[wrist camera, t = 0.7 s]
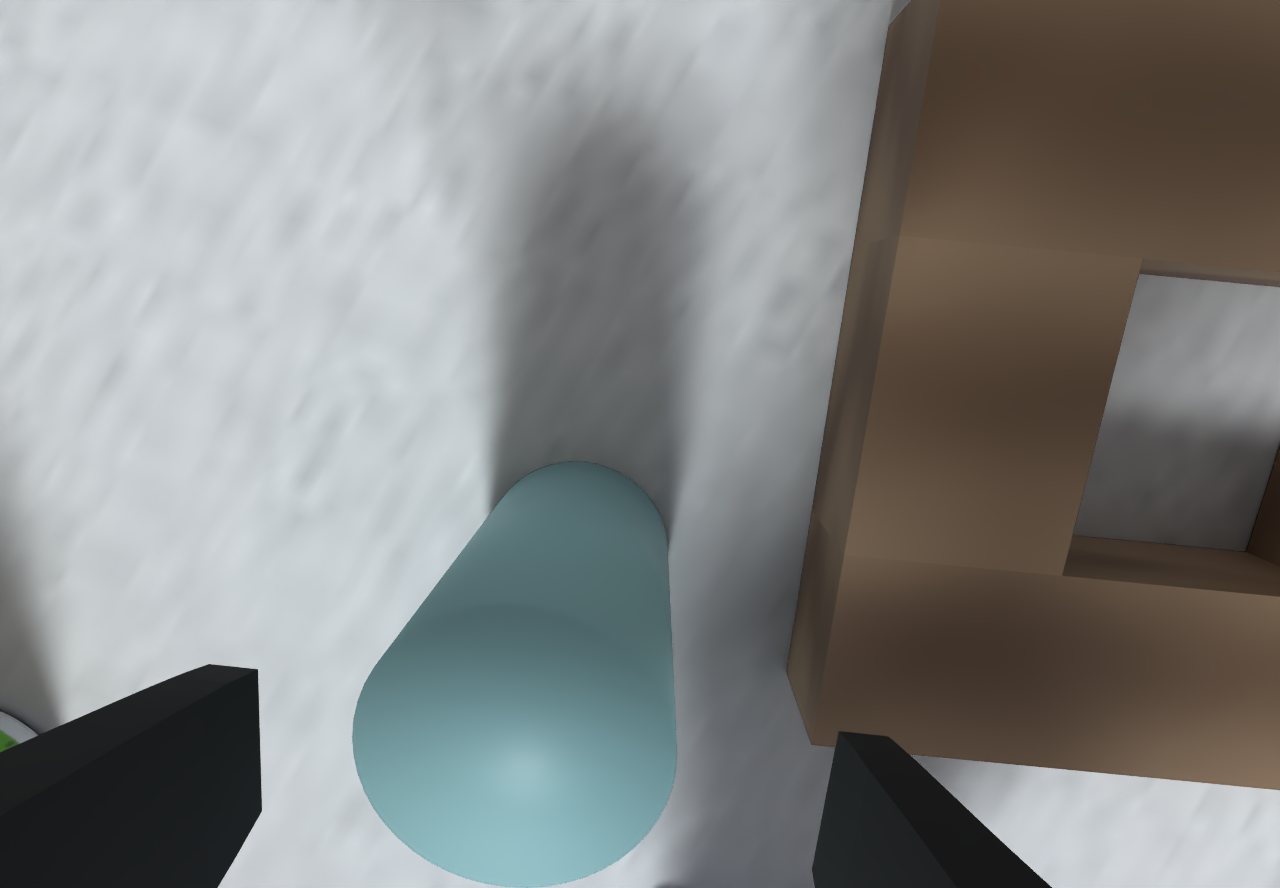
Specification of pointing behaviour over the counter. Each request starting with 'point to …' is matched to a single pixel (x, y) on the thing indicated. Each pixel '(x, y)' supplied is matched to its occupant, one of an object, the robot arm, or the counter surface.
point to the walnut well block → (1039, 395)
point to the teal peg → (532, 689)
